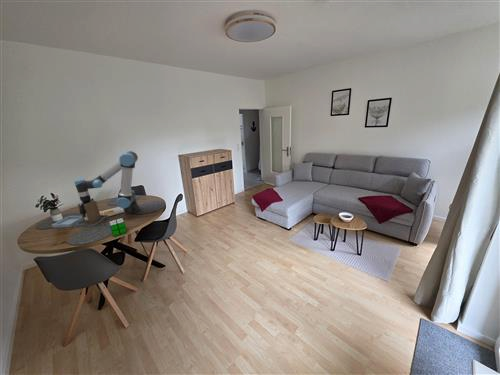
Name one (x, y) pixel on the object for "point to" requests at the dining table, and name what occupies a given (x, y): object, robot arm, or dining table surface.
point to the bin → (67, 222)
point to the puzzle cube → (118, 227)
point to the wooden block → (91, 212)
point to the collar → (92, 223)
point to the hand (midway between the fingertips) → (91, 217)
